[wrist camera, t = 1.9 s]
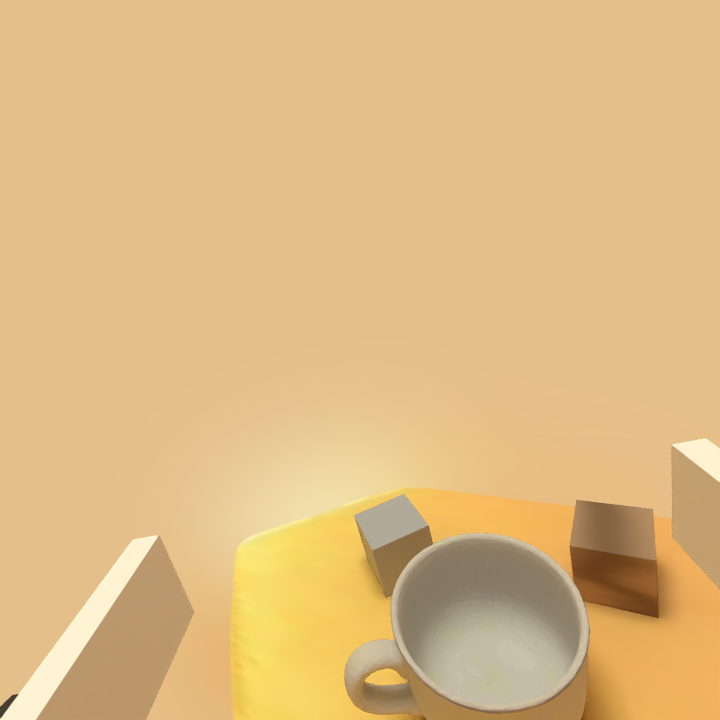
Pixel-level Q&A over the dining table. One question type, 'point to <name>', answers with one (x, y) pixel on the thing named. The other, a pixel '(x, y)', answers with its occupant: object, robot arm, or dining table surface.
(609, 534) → the walnut block
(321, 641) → the dining table surface
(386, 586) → the slate block
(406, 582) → the teacup
